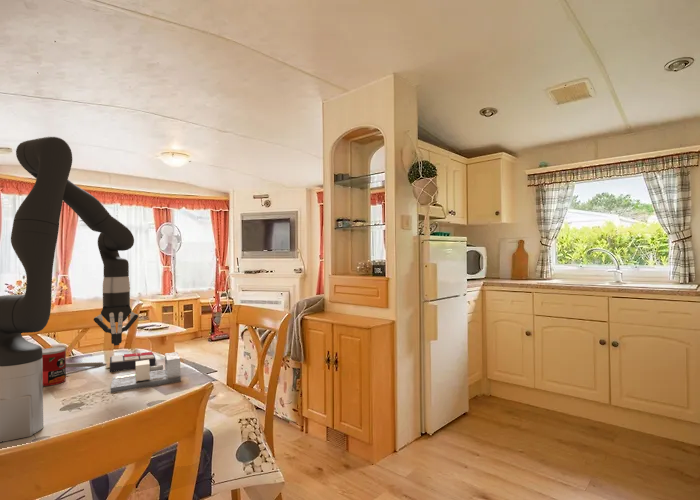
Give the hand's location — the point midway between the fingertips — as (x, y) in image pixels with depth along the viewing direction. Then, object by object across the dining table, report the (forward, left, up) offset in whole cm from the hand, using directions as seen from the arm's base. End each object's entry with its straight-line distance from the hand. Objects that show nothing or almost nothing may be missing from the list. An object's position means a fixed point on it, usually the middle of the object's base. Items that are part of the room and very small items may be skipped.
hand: (116, 344), depth 126 cm
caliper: (+31, +15, -14) cm, 37 cm away
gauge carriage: (+2, -9, -12) cm, 15 cm away
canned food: (+18, +20, -14) cm, 30 cm away
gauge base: (+1, -8, -14) cm, 16 cm away
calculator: (+27, -4, -14) cm, 31 cm away
